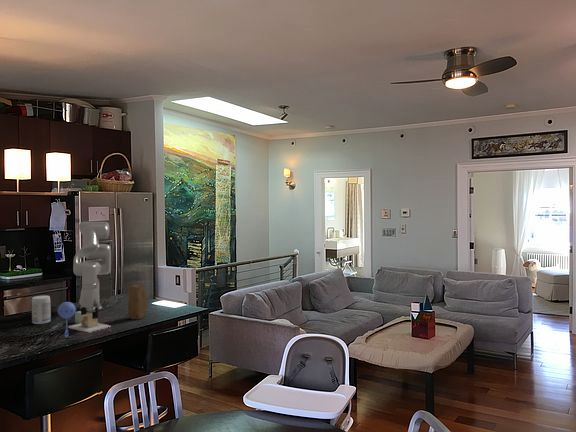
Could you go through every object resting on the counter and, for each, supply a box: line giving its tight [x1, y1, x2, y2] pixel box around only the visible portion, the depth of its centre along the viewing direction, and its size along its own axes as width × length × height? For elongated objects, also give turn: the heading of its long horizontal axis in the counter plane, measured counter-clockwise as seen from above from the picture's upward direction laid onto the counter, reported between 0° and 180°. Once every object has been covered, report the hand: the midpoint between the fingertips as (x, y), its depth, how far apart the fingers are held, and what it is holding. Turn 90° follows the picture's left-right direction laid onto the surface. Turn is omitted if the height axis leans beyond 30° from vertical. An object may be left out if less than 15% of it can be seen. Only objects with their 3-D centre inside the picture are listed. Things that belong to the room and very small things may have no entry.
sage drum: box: [74, 310, 81, 324], centre depth 280 cm, size 5×5×6 cm
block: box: [127, 283, 148, 320], centre depth 292 cm, size 11×8×20 cm
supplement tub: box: [31, 295, 52, 325], centre depth 279 cm, size 10×10×15 cm
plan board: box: [67, 322, 112, 334], centre depth 269 cm, size 18×14×1 cm
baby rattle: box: [57, 301, 77, 338], centre depth 251 cm, size 9×9×18 cm
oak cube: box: [81, 313, 99, 328], centre depth 269 cm, size 6×6×6 cm
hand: (89, 317), depth 270 cm, fingers open, 9 cm apart
